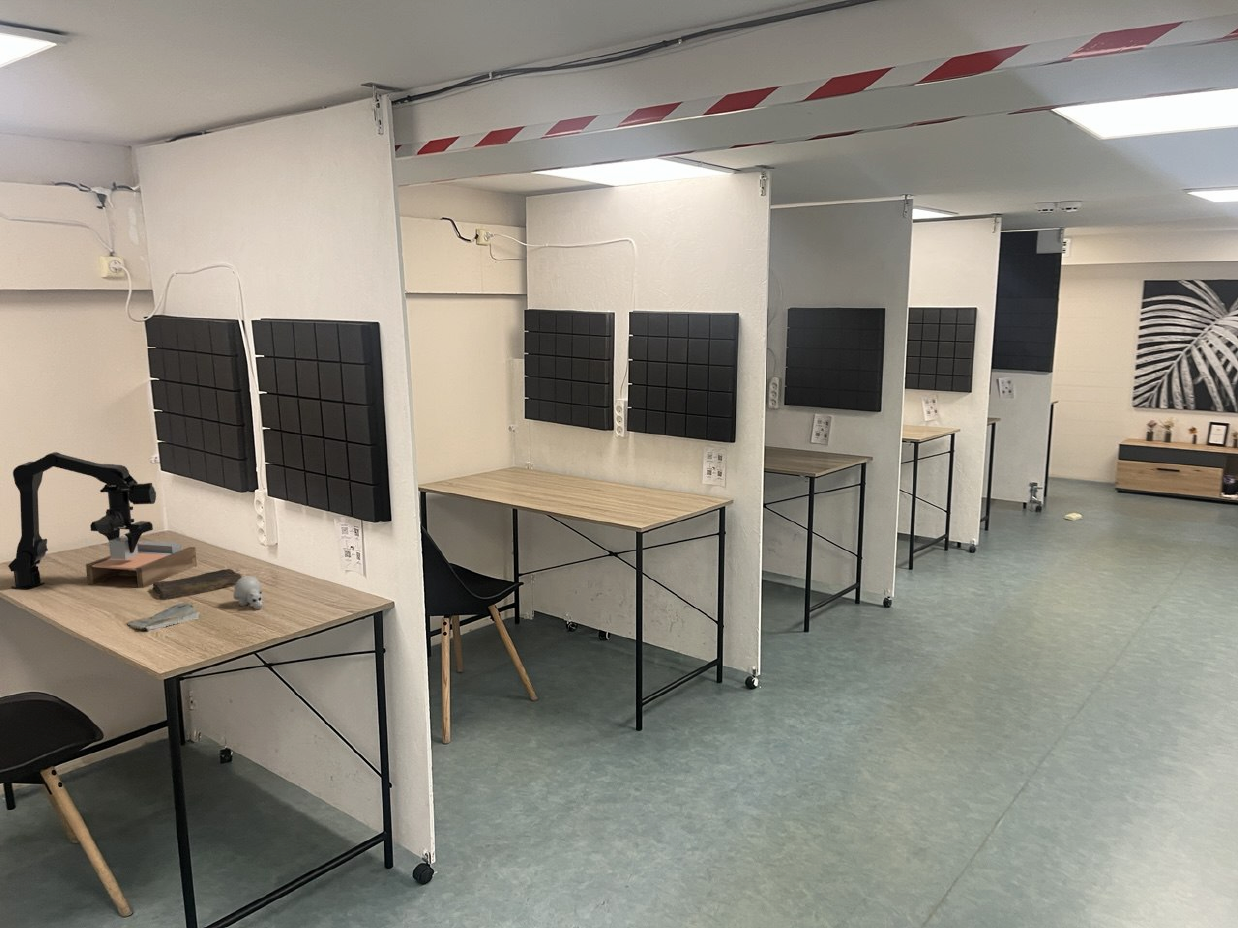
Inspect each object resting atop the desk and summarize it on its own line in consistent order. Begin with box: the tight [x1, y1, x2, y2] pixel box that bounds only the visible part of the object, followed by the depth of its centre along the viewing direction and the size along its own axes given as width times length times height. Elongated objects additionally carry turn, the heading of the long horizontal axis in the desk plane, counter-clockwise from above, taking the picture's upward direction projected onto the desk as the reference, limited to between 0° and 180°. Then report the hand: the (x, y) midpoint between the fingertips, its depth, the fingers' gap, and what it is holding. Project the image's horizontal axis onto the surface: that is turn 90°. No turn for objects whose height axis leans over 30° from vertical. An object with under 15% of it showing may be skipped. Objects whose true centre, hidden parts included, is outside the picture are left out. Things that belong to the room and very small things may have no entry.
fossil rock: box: [125, 602, 201, 632], centre depth 244 cm, size 18×15×2 cm
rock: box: [152, 568, 243, 601], centre depth 273 cm, size 25×4×15 cm
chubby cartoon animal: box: [233, 575, 264, 610], centre depth 254 cm, size 7×12×8 cm, turn 45°
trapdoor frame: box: [85, 546, 198, 589], centre depth 285 cm, size 21×25×6 cm
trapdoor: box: [92, 540, 182, 571], centre depth 283 cm, size 16×22×5 cm
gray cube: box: [108, 535, 138, 560], centre depth 276 cm, size 6×6×6 cm
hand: (124, 552), depth 277 cm, fingers closed on gray cube, 5 cm apart
